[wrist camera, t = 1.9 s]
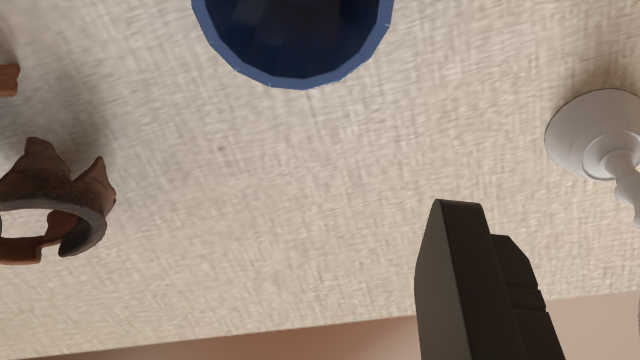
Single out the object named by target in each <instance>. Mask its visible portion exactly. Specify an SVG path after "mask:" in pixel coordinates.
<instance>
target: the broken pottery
mask: <svg viewBox="0 0 640 360" xmlns="http://www.w3.org/2000/svg"><path fill="white" fill-rule="evenodd" d="M19 73H20V67H19V66H18V65H15V64H0V98H2V97H12V96H15V95H16V94H17V87H18V84H17V78H18V76H19ZM115 197H116V192H115V190H114V188H113V187H112V186H111V184H110V183H109V181H108V177H107V174H106V167H105V163H104V161H103V158H102V157H101V156H98V157H97V158H96V159H95V161H94V163H93V164H92V165H91V166H90V167H89V168H88V169H87V170H86V171H84V172H83V173H82V174H81V175H79V176H78V177H77V178H76V179H74V180H73V181H71V173H70V170H69V168H68V166H67V165H66V163H65V162H64V161H63V160H62V159H61V158H60V157H59V156H58V155H57V153H56V151H55V148H54V147H53V145H52V144H51V143H49V142H48V141H45V140H43V139H40V138H37V137H28V138H27V140H26V145H25V151H24V155H23V156H21V157H20V158H19V159H18V160H17V161H16V162H15V164H14V165H13V167H12V168H11V169H10V170H9V172H7V173H6V174H5V175H4V176H3V177H2V178H1V179H0V211H12V210H19V209H33V208H35V209H54V210H53V211H51V212H50V213H49V214H48V215H47V223H48V228H47V231H46V233H45V235H44V236H36V237H20V238H4V237H0V264H4V265H29V264H37V263H40V261H41V256H42V254H41V250H42V248H44V247H48V246H53V245H57V244H60V243H61V244H60V247H59V252H58V255H59V256H60V257H67V256H75V255H78V254H80V253H83V252H84V251H87V250H88V249H90V248H92V247H93V246H95V245H96V244H97V243H98V242H99V241H101V240H102V238H103V236H104V235H105V231H106V229H107V222H106V220H105V218H106V216H107V215H108V214H109V213H110V211H111V210H112V208H113V207H114V205H115V203H116V198H115Z"/></svg>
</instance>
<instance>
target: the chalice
mask: <svg viewBox="0 0 640 360" xmlns="http://www.w3.org/2000/svg"><path fill="white" fill-rule="evenodd" d="M545 148H546V151H547V154H548V156H549V157H550V158H551V159H552V160H553V161H554V162H555V164H556V165H559V166H561V167H563V168H565V169H567V170H568V171H571V172H573V173H575V174H577V175H578V176H580V177H582V178H585V179H587V180H594V181H609V180H616V183H617V186H616V187H615V189H614V197H615V199H616V200H617V201H619V202H621V203H624V204H631V205H632V206H633V207H634V208H635V213H636V214H635V216H634V220H633V221H634V224H635V226H636V227H637V228H640V173H639V172H638V171H637V170H635V168H636V167H637V166H638V165H639V164H640V99H639V98H638V97H636V96H635V95H633V94H631V93H629V92H627V91H623V90H616V89H605V90H597V91H592V92H589V93H587V94H584V95H582V96H579V97H577V98H575V99H574V100H572V101H571V102H569V103H568V104H566V105H565V106H564V107H562V108H561V109H560V111H559V112H558V113H557V114H556V115H555V116H554V117H553V118H552V120H551V122H550V124H549V126H548V128H547V130H546V133H545ZM638 322H639V334H640V300H639V310H638Z"/></svg>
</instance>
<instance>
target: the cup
mask: <svg viewBox="0 0 640 360" xmlns="http://www.w3.org/2000/svg"><path fill="white" fill-rule="evenodd" d="M393 5H394V0H191V6H192V9H193V11H194V14H195V16H196V18H197V20H198V22H199V24H200V26H201V29H202V31H203V33H204V35H205V37H206V39H207V41H208V43H209V44H210V46H211V47H212V48H213V49H214V50H215V51H216V52H217V53H218V54H219V55H220V56H221V57H222V58H223V59H224V60H225V61H226V62H227V63H228V64H229V65H230V66H231V67H232V68H233V69H234V70H236V71H237V72H239V73H241V74H243V75H245V76H247V77H249V78H251V79H253V80H255V81H258V82H260V83H262V84H264V85H266V86H268V87H273V88H284V89H294V90H310V89H313V88H317V87H320V86H324V85H328V84H331V83H335V82H339V81H340V80H343V79H344V78H345V77H347V76H348V75H349V74H351V73H352V72H353V71H355V70H356V69H357V68H359V67H360V66H361V65H363V64H364V63H365V62H367V61H368V60H369V58H371V57H372V55H373V53H374V52H375V50H376V48H377V47H378V45H379V43H380V42H381V40H382V39H383V37H384V35H385V34H386V32H387V30H388V29H389V25H390V24H391V17H392V11H393Z"/></svg>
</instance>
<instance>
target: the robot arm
mask: <svg viewBox="0 0 640 360" xmlns="http://www.w3.org/2000/svg"><path fill="white" fill-rule="evenodd" d="M1 233H2V220H1V216H0V237H1ZM414 296H415V305H416V314H417V323H418V332H419V340H420V350H421V359H422V360H566V359H565V356H564V354H563V351H562V348H561V346H560V343H559V340H558V338H557V335H556V332H555V330H554V327H553V324H552V321H551V318H550V316H549V313H548V312H546V305H545V302H544V299H543V297H542V294H541V291H540V290H538V283H537V280H536V278H535V275H534V272H533V269H532V267H531V264H530V261H529V259H528V258H527V256H526V255H525V254H524V253H523V252H522V251H521V250H520V249H519V247H518V246H517V245H516V244H515V243H514V242H513V241H512V239H511V238H510V237H509V236H506V235H496V234H490V231H489V228H488V224H487V221H486V218H485V214H484V211H483V208H482V206H481V204H479V203H474V202H464V201H454V200H444V199H435V201H434V202H433V204H432V207H431V211H430V214H429V218H428V222H427V225H426V229H425V233H424V236H423V240H422V244H421V247H420V251H419V255H418V258H417V262H416V268H415V277H414Z"/></svg>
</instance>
